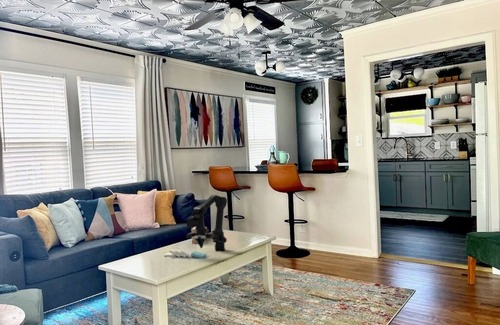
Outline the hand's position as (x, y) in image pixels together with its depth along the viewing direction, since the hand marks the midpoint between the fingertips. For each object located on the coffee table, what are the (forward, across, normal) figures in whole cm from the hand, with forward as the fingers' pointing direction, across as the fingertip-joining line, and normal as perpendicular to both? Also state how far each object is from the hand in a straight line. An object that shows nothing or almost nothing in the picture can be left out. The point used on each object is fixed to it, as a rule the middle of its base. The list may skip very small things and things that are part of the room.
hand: (201, 247), depth 263 cm
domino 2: (+6, +16, 0) cm, 17 cm away
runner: (+7, +9, 0) cm, 11 cm away
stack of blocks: (+7, +28, -47) cm, 55 cm away
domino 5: (+6, -2, 0) cm, 6 cm away
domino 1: (+6, +21, 0) cm, 21 cm away
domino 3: (+6, +12, 0) cm, 13 cm away
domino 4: (+6, +7, 0) cm, 9 cm away
